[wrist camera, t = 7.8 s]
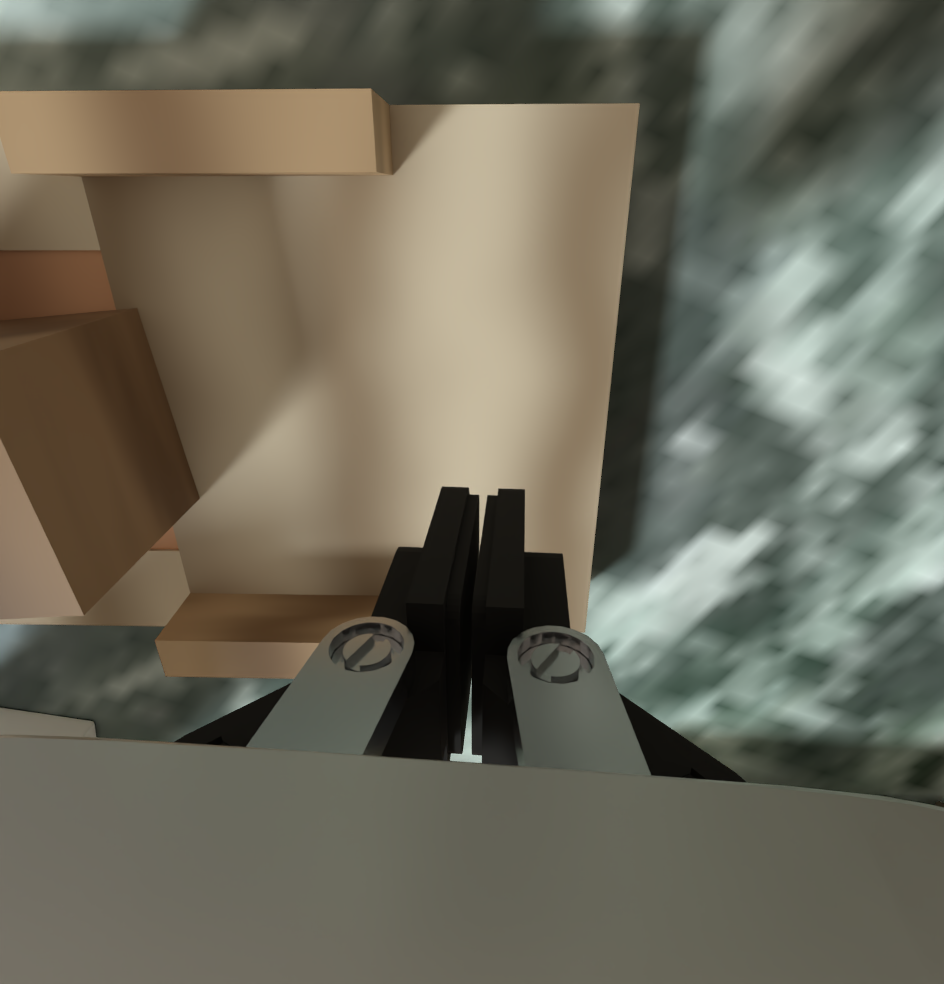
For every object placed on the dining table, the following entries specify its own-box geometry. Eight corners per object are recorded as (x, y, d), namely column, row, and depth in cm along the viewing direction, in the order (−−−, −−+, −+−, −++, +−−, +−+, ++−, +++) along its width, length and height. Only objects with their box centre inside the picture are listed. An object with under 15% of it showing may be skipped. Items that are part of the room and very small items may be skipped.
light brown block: (137, 308, 17) (-36, 361, 11) (199, 498, 19) (83, 615, 14) (-62, 326, 17) (-317, 385, 12) (26, 509, 20) (-150, 626, 14)
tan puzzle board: (619, 116, 16) (667, 85, 12) (575, 590, 24) (596, 683, 19) (-259, 121, 17) (-525, 94, 13) (-43, 583, 24) (-163, 671, 20)
